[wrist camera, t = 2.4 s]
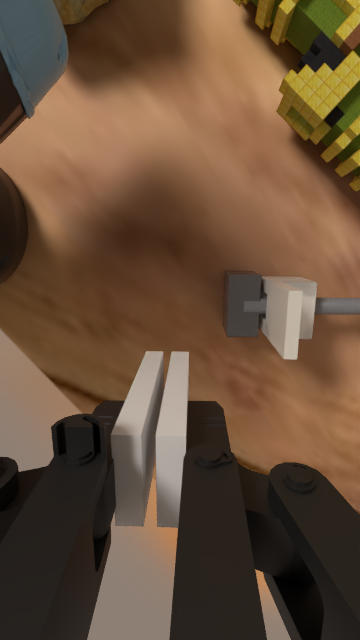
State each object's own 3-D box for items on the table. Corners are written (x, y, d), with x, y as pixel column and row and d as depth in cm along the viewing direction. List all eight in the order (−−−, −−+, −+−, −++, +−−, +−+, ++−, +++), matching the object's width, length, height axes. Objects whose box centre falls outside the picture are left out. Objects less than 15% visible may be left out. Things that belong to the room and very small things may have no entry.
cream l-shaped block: (257, 325, 36) (283, 359, 25) (259, 276, 34) (288, 290, 24) (294, 325, 35) (337, 360, 25) (298, 276, 34) (345, 291, 24)
